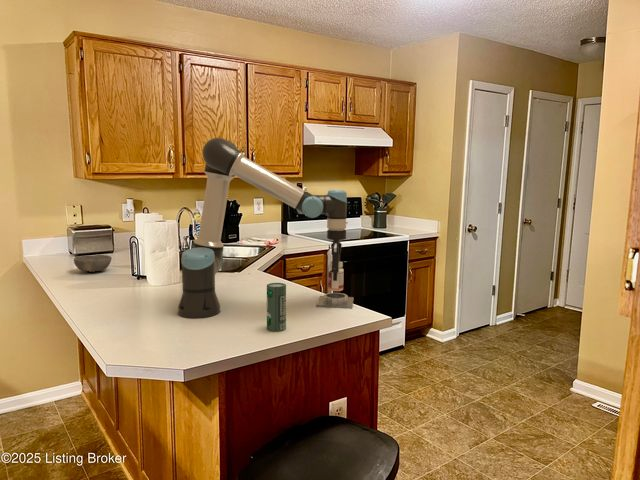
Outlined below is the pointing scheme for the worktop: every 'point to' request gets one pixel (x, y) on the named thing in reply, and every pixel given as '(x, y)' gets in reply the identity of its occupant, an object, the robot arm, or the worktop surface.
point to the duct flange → (335, 301)
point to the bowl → (92, 262)
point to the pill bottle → (341, 277)
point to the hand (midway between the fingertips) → (335, 286)
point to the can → (276, 307)
